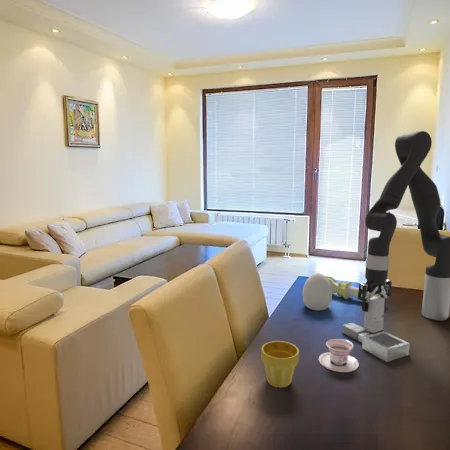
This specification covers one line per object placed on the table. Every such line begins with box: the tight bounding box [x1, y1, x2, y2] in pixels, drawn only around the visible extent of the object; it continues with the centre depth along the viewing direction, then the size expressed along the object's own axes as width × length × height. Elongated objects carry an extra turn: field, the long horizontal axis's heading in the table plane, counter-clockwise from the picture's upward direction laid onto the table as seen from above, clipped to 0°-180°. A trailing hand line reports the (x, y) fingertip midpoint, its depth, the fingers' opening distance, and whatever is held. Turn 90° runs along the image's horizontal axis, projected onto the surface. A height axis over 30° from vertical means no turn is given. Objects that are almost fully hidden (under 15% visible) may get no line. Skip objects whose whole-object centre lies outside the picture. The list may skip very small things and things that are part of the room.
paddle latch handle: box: [341, 322, 411, 363], centre depth 131 cm, size 10×22×4 cm, turn 27°
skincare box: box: [363, 296, 385, 334], centre depth 142 cm, size 6×4×12 cm
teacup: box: [318, 338, 360, 373], centre depth 119 cm, size 12×12×6 cm
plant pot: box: [260, 340, 300, 389], centre depth 108 cm, size 10×10×10 cm
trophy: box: [324, 275, 380, 300], centre depth 175 cm, size 8×8×30 cm
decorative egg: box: [302, 272, 333, 311], centre depth 164 cm, size 12×12×15 cm
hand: (373, 309), depth 142 cm, fingers open, 8 cm apart
